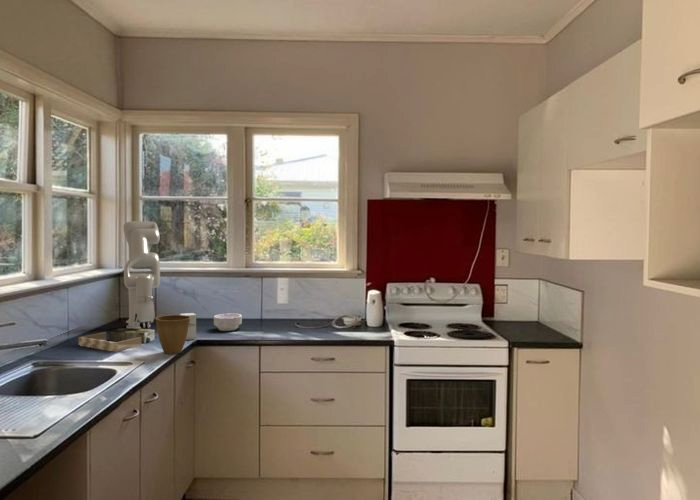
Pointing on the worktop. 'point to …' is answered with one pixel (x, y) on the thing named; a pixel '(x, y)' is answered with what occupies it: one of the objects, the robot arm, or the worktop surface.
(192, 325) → the supplement box
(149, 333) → the juice carton
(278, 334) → the worktop surface
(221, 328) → the paper bowls
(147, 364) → the worktop surface
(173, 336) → the plant pot
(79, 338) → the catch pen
